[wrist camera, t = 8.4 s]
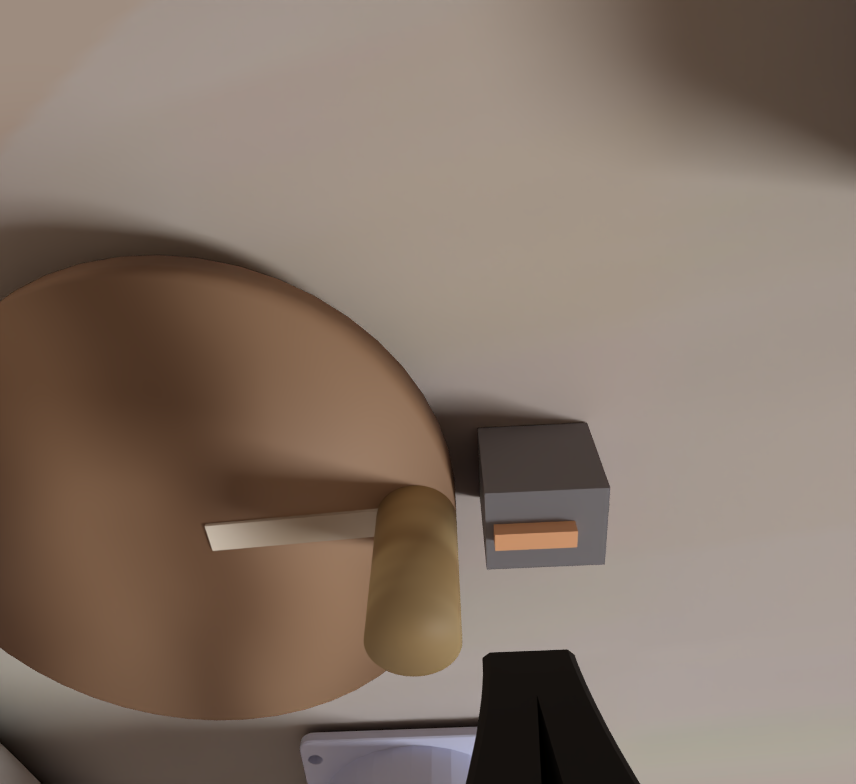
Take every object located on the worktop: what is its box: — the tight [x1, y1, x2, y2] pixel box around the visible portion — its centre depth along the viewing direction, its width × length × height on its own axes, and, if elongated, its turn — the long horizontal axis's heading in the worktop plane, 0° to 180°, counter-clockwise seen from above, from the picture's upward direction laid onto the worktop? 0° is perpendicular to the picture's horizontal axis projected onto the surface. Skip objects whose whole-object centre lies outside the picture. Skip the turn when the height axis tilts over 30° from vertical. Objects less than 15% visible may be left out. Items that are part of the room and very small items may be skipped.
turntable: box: [0, 255, 462, 720], centre depth 18 cm, size 14×14×6 cm
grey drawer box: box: [478, 423, 610, 569], centre depth 19 cm, size 3×2×3 cm
